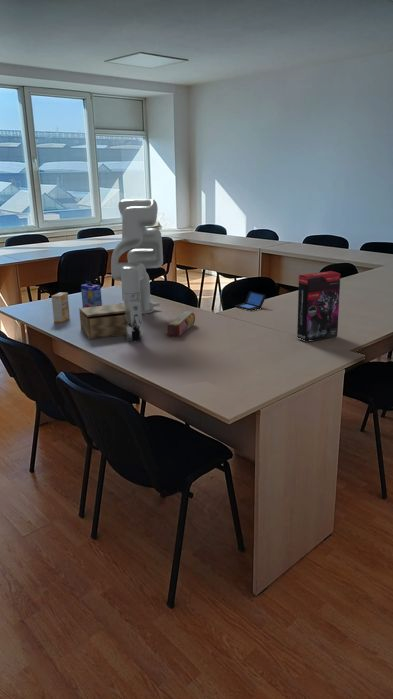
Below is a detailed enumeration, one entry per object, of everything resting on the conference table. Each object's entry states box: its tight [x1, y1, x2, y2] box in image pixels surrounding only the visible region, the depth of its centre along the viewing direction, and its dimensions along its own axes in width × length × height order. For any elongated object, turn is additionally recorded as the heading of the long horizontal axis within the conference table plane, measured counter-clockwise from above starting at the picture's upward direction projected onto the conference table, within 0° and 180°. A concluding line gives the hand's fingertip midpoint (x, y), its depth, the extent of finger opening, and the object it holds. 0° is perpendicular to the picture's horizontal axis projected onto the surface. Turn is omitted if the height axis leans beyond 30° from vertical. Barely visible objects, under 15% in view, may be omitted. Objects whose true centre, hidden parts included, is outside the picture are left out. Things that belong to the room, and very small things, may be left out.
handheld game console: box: [235, 290, 267, 311], centre depth 271 cm, size 12×11×7 cm
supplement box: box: [51, 292, 71, 323], centre depth 250 cm, size 8×5×13 cm, turn 168°
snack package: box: [166, 310, 196, 338], centre depth 232 cm, size 21×7×7 cm, turn 162°
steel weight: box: [125, 324, 142, 343], centre depth 220 cm, size 6×6×6 cm
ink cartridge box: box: [80, 280, 103, 308], centre depth 273 cm, size 10×6×14 cm, turn 54°
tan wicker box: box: [78, 310, 136, 340], centre depth 232 cm, size 22×17×9 cm
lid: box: [79, 303, 125, 317], centre depth 230 cm, size 22×17×1 cm
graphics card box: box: [296, 270, 341, 341], centre depth 215 cm, size 17×7×27 cm, turn 117°
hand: (133, 337), depth 221 cm, fingers closed on steel weight, 6 cm apart
